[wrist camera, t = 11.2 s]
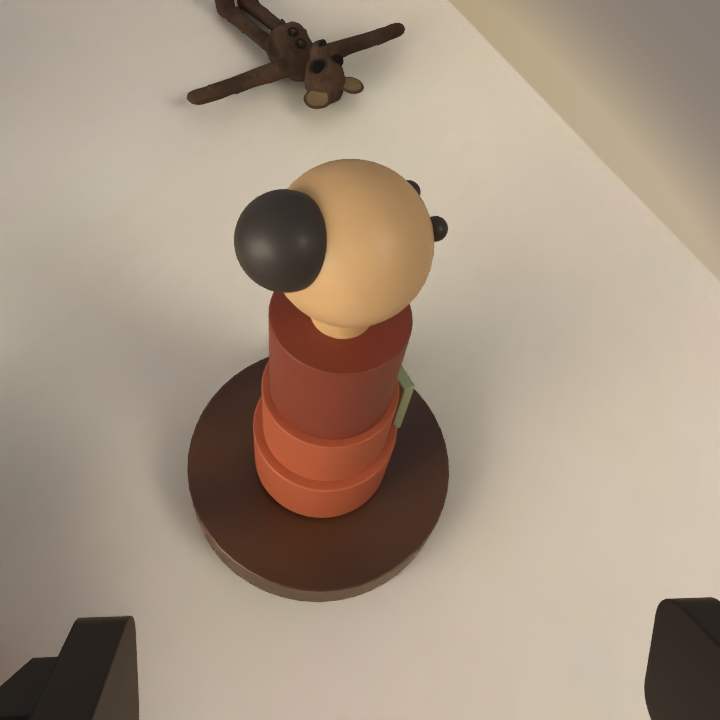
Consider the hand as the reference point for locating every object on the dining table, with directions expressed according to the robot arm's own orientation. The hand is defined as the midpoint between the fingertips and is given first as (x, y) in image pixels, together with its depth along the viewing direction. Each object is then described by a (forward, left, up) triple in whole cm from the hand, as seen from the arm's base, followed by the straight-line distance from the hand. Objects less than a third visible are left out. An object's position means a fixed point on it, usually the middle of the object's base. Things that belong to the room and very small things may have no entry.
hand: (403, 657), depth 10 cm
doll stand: (-10, +4, -20) cm, 23 cm away
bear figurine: (-41, +14, -20) cm, 48 cm away
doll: (-10, +4, -17) cm, 21 cm away
